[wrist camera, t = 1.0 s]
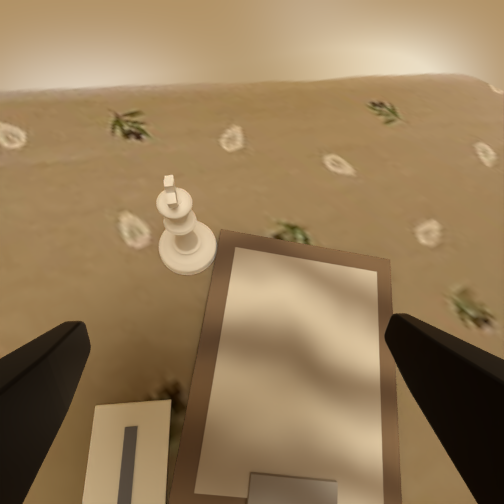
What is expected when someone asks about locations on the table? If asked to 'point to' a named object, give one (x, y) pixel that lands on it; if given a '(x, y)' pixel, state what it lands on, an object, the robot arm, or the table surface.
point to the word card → (128, 453)
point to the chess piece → (183, 233)
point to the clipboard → (292, 380)
